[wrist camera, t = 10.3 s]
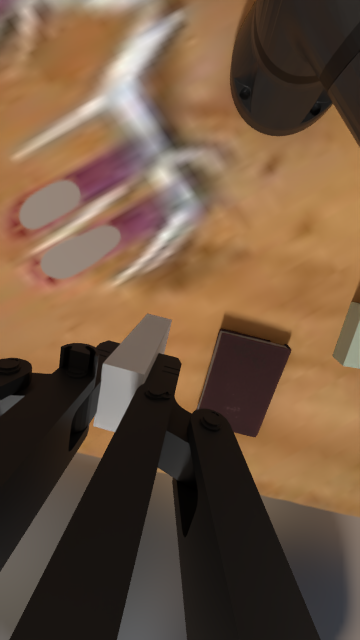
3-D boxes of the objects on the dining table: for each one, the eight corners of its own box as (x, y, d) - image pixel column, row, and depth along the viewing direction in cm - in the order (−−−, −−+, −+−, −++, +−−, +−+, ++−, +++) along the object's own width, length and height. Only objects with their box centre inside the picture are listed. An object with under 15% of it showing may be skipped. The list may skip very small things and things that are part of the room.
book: (288, 343, 45) (293, 351, 42) (254, 428, 51) (257, 440, 48) (220, 326, 46) (221, 332, 42) (194, 412, 51) (193, 422, 48)
